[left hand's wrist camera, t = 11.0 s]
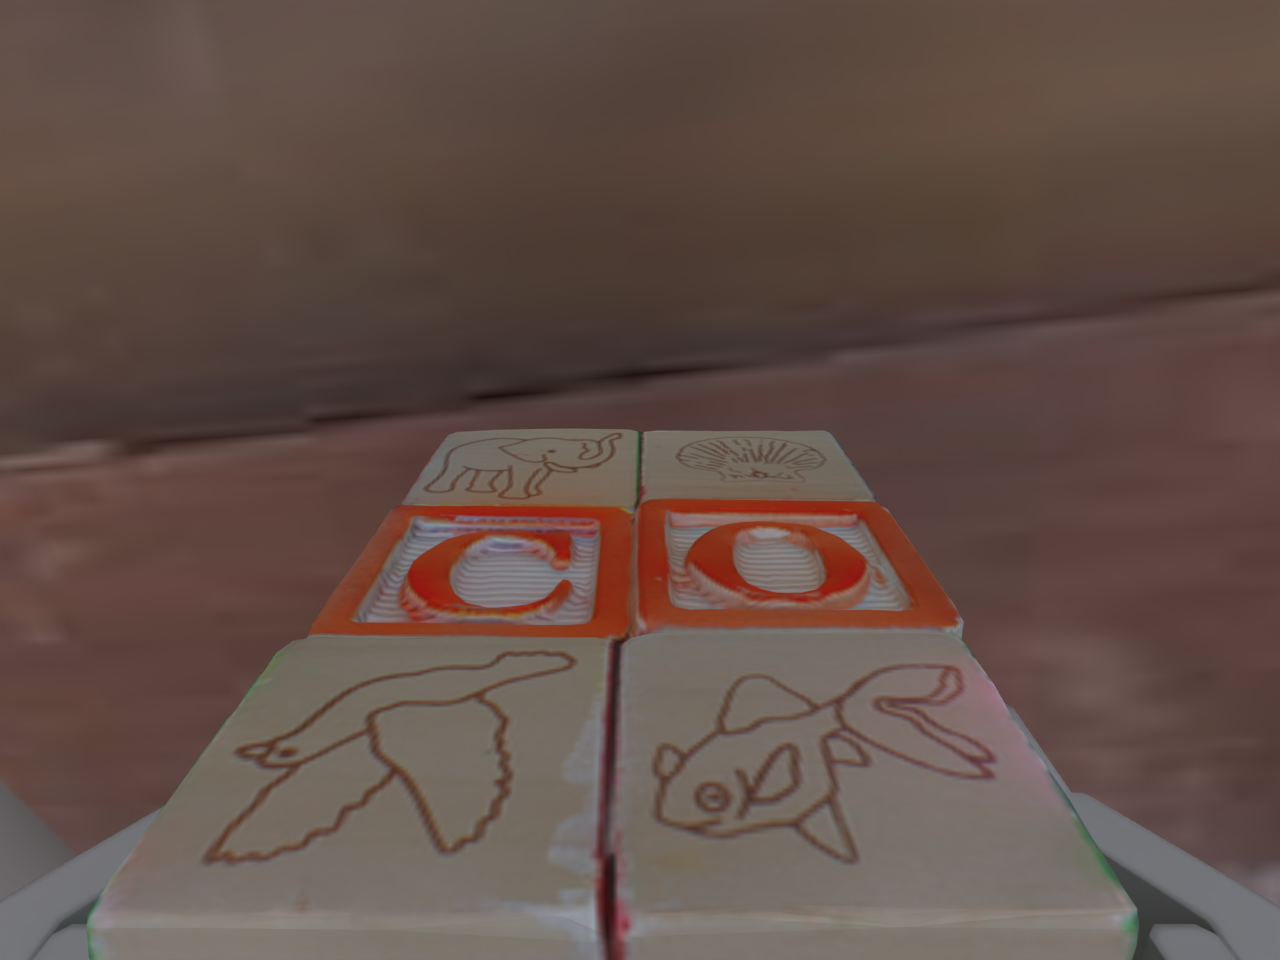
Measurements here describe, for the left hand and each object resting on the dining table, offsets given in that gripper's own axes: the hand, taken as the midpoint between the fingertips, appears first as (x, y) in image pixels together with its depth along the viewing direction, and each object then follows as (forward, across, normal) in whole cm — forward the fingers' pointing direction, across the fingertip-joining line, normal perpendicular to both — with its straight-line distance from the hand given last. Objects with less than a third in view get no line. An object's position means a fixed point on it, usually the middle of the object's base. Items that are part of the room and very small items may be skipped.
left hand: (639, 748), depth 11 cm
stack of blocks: (+4, 0, -8) cm, 9 cm away
